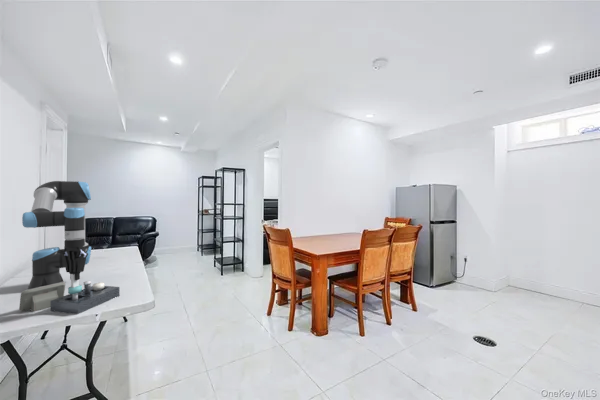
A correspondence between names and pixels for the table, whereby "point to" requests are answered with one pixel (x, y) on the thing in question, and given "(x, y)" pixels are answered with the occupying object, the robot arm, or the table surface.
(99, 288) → the knob inner
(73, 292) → the knob outer
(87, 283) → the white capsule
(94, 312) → the table surface
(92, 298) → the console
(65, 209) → the robot arm
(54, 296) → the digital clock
